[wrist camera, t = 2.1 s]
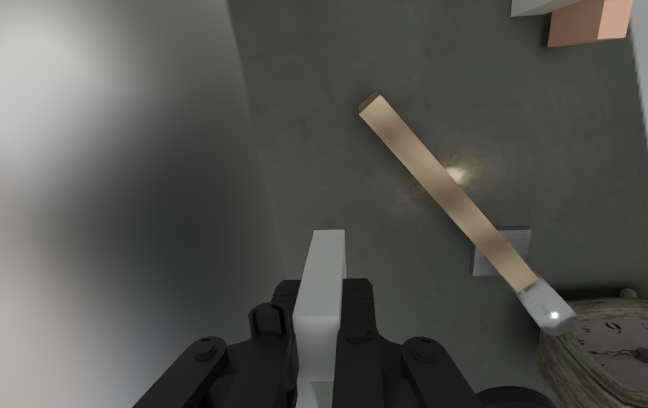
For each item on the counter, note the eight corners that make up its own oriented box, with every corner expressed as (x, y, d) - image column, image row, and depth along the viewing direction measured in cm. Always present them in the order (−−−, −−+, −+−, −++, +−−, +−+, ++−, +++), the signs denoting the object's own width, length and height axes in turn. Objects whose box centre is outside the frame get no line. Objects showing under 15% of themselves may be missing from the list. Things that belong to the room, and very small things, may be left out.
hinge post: (521, 271, 42) (589, 350, 30) (470, 271, 43) (516, 349, 30) (527, 226, 40) (603, 291, 28) (474, 227, 41) (525, 291, 28)
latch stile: (557, 47, 34) (659, 32, 22) (506, 51, 34) (581, 37, 23) (568, -24, 32) (686, -81, 20) (514, -20, 32) (600, -72, 21)
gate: (501, 238, 39) (538, 279, 31) (484, 249, 40) (517, 292, 32) (374, 90, 35) (380, 94, 27) (357, 106, 36) (359, 114, 28)
